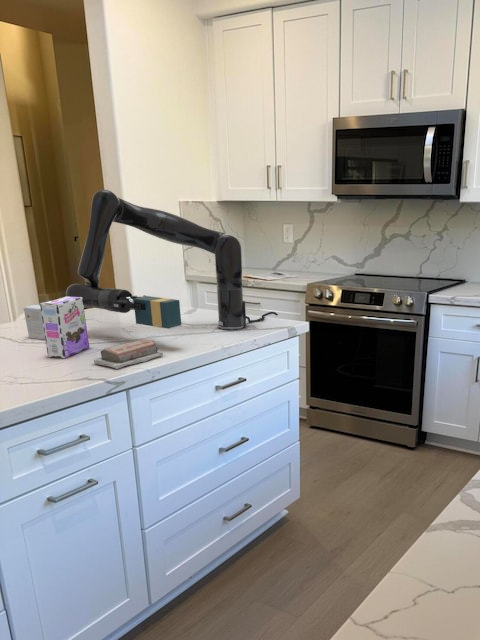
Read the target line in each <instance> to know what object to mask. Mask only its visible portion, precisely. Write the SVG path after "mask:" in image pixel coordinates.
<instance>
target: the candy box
mask: <svg viewBox="0 0 480 640" xmlns="http://www.w3.org/2000/svg"><path fill="white" fill-rule="evenodd" d="M39 305H40V307H41V314H42V320H43V327H44V334H45V346H46V352H47V357H48V358H56V359H57V358H58V359H66V358H68V357H71V356H74V355H76V354H79V353H81V352H83V351H86V350H88V349H90V344H89V336H88V328H87V321H86V315H85V307H84V305H83V298H82V297H66V296H64V297H60V298H57V299H53V300H48V301H45V302H44V301H43V302H40V303H39Z"/></svg>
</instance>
